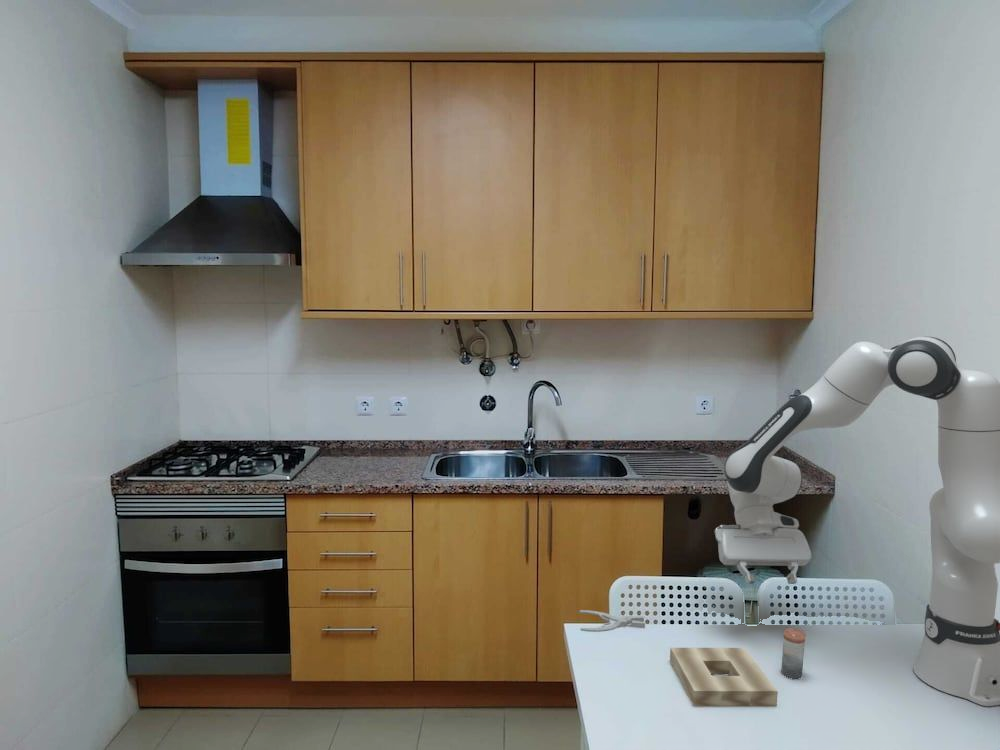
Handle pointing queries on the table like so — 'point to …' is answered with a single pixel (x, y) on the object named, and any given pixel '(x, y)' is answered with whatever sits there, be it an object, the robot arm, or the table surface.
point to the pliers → (625, 621)
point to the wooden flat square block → (722, 677)
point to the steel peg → (793, 653)
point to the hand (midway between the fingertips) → (771, 583)
